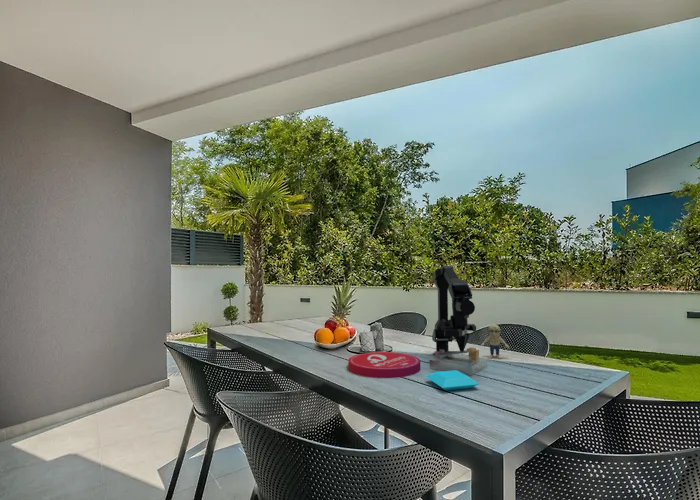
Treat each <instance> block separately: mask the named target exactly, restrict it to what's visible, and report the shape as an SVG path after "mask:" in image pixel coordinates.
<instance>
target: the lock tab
mask: <svg viewBox="0 0 700 500" xmlns="http://www.w3.org/2000/svg"><path fill="white" fill-rule="evenodd" d="M466 350H469V352H468V356H469V358H476V359H477V358H479V357H480V350H479V349H477V348H476V347H468V348H466Z"/></svg>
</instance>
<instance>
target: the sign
mask: <svg viewBox="0 0 700 500" xmlns="http://www.w3.org/2000/svg"><path fill="white" fill-rule="evenodd" d="M347 362H348V364H347V365H348V370H349V372H351V373H353V374H355V375H357V376H362V377H368V378H375V377H377V379H397V378H403V377H410V376H412V375H416V374H419V372H421V359H420V358H419V357H417V356H415V355H412V354H409V353H403V352H393V351H374V352H373V351H372V352H365V353H364V352H362V353H358V354H355V355H353V356H351V357H349V358H348V361H347Z"/></svg>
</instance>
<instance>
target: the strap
mask: <svg viewBox="0 0 700 500" xmlns="http://www.w3.org/2000/svg"><path fill="white" fill-rule="evenodd" d="M444 354H459V355H463V354H469V350H467V349H464V351H460V350H451V351H450V350H449V351H448V352H442V351H440V355H444Z"/></svg>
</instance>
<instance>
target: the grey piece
mask: <svg viewBox="0 0 700 500" xmlns="http://www.w3.org/2000/svg"><path fill="white" fill-rule="evenodd" d="M439 350H440V351H442V352H444V350H443V349H439ZM434 353H435V354H434V357H433V358H431V359H429V369H432V370H439V371H452V370H457V371H459V372H461V373H463V374H465V375H467V376H475V375H476V374H477V373H479V372H481V371H482V370H484V369H486V368H488V359H487V358H488V357H487V358H485V357H480V356H479V358H477V359H476V358H469V355H466V354H464V355H463V354H444V355H440V352H439V351H436V350H435V351H434Z"/></svg>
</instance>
